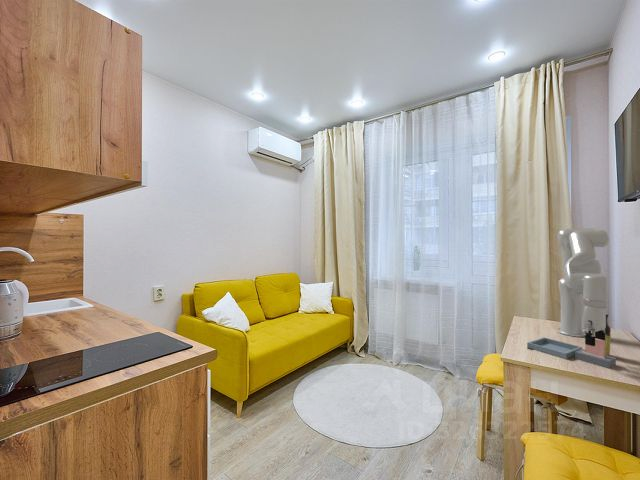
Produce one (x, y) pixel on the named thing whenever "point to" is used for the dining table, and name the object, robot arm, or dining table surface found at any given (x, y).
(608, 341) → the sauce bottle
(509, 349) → the dining table surface
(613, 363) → the dispenser
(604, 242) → the robot arm
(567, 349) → the tray
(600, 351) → the ticket
